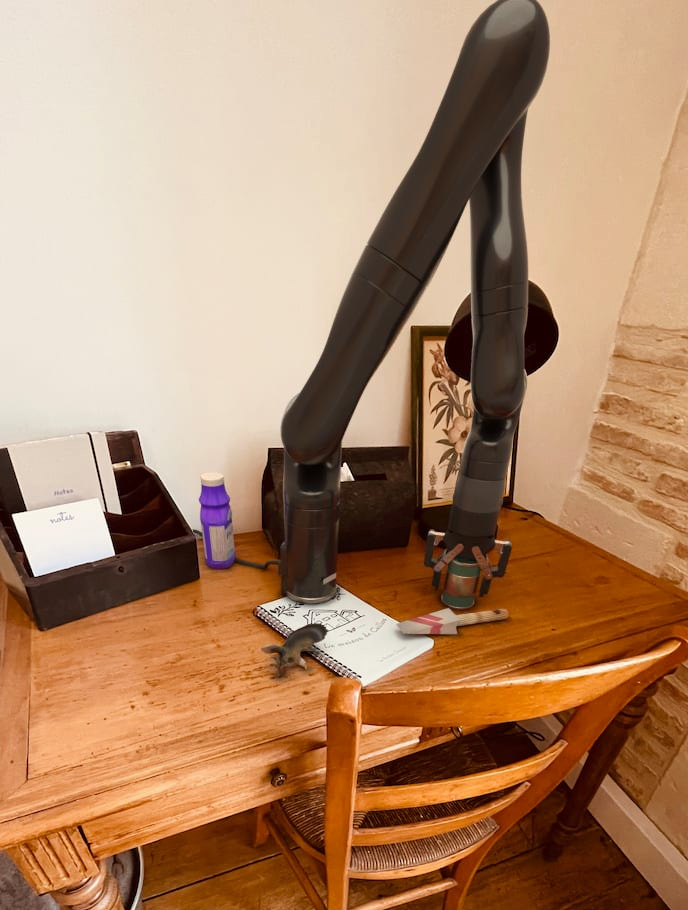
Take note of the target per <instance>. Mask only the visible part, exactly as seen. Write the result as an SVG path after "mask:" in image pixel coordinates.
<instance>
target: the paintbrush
mask: <svg viewBox="0 0 688 910" xmlns="http://www.w3.org/2000/svg"><path fill="white" fill-rule="evenodd" d="M508 617H509V612H508V610H507V609H506V608H499V609H494V610H492V609H491V610H485V611H476V612H470V613H462V614H455V612H453V611H452V609H451V608H449V607H446V608H444V609H440V610H437V611H434V612H431V613H428V614H425V615H420V616H418V617H415V618H410V619H408V620H405V621H401V622H398V623H395V625H396V626H397V628H398V629H399V630H400V631H401V633H402V634H407V635H410V634H411V635H412V634H413V635H458V631H457V630H458V629H457V627H461V626H469V625H474V624H481V623H488V622H494V621H502V620H506V619H508Z"/></svg>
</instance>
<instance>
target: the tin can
mask: <svg viewBox="0 0 688 910" xmlns="http://www.w3.org/2000/svg"><path fill="white" fill-rule="evenodd" d="M446 566H447V567H446V571H445V576H444V581H443V588H442V594H441V597H440V602H441V604H442V605H444V606H445V607H446V608H449V609H450V610H454V611H466V610H470V609H472V608H473V607H474V605H475V598H476V593H477V590H478V586H479V581H480V577H481V573H482V570H481V569H480V566H479V563H478V562H477V561H472V560H465V559H458V558H453V559H452V560H451V561H450V562H449V563H448V564H447V565H446Z"/></svg>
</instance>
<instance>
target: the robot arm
mask: <svg viewBox="0 0 688 910" xmlns="http://www.w3.org/2000/svg"><path fill="white" fill-rule="evenodd" d="M550 50H551V33H550V25H549V21H548V16H547V15H546V12H545V9H544V8H543V6H542V5H541V4H540V2H539V1H538V0H495V1H494V2H493V3H491V4H490V5H489V6H488V7H486V9H484V11H482V12H481V13H480V14H479V15H478V17H477V18H476V20H475V21H474V22H473V23H472V25H471V27H470V28H469V30H468V31H467V33H466V35H465V38H464V40H463V43H462V46H461V48H460V51H459V54H458V57H457V59H456V62H455V66H454V68H453V70H452V73H451V76H450V79H449V81H448V84H447V86H446V89H445V91H444V94H443V96H442V98H441V101H440V104H439V106H438V108H437V110H436V113H435V115H434V118H433V120H432V122H431V125H430V127H429V129H428V132H427V133H426V136H425V139H424V140H423V142H422V144H421V146H420V148H419V150H418V152H417V154H416V156H415V158H414V159H413V161H412V163H411V165H410V166H409V168H408V169H407V171H406V173H405V174H404V176H403V177H402V179H401V181H400V183H399V184H398V185H397V187H396V189H395V191H394V193H393V194H392V196H391V198H390V200H389V201H388V203H387V205H386V207H385V208H384V210H383V212H382V214H381V215H380V217H379V220H378V222H377V224H376V226H375V227H374V229H373V231H372V232H371V235H370V236H369V238H368V239H367V242H366V244H365V246H364V247H363V250H362V252H361V254H360V256H359V258H358V260H357V262H356V264H355V266H354V268H353V271H352V273H351V275H350V277H349V279H348V282H347V284H346V286H345V288H344V291H343V294H342V296H341V299H340V301H339V303H338V307H337V309H336V312H335V315H334V318H333V320H332V324H331V327H330V330H329V332H328V336H327V339H326V341H325V345H324V348H323V349H322V352H321V354H320V357H319V358H318V361H317V363H316V364H315V367H314V368H313V370H312V372H311V373H310V375H309V376H308V379H307V380H306V382H305V384H303V386H302V388H301V390H300V392H298V393H296V394H295V395H294V396H292V398H290V400H289V401H288V402H287V404H286V407H285V409H284V412H283V413H282V417H281V421H280V426H279V431H280V432H279V433H280V439H281V444H282V447H283V479H282V501H283V503H282V504H283V542H282V544H281V545H280V548H279V553H280V555H279V556H280V559H279V560H268V561H266V562H265V563H264V564H259V563H253V562H249V561H246V560H243V559H240V558H239V557H235V560H234V562H235V563H238V564H240V565H243V566H249V567H252V568H256V569H262V570H263V569H264V570H265V569H268V568H269V566H272V565H273V566H275V565H276V566H277V576H280V586H281V589H280V590H281V595H282V596H286V597H288V599H290V600H292V601H294V602H297V603H301V604H307V605H308V604H309V605H310V604H311V605H315V604H322V603H325V602H328V601H330V600H331V599H333V598H335V596H336V594H337V589H338V588H337V573H338V572H337V571H338V551H339V528H340V527H339V526H340V525H339V524H340V503H341V501H340V500H341V485H342V483H341V482H342V481H341V478H342V451H343V450H342V448H343V439H344V437H345V435H346V432H347V429H348V427H349V425H350V423H351V420H352V418H353V416H354V413H355V411H356V410H357V407H358V405H359V402H360V400H361V398H362V396H363V395H364V393H365V390H366V389H367V387H368V385H369V383H370V381H371V380H372V379H373V377H374V375H375V374H376V372H377V371H378V369H379V368H380V366H381V365H382V363H383V362H384V360H385V359H386V358H387V356H388V354H389V353H390V351H391V350H392V348H393V347H394V345H395V344H396V342H397V341H398V338H399V337H400V335H401V334H402V332H403V331H404V329H405V327H406V326H407V324H408V322H409V321H410V319H411V318H412V316H413V314H414V312H415V311H416V309H417V308H418V305H419V304H420V302H421V300H422V298H423V297H424V295H425V293H426V292H427V289H428V287H430V284H431V282H432V280H433V278H434V276H435V274H436V272H437V271H438V268H439V267H440V264H441V262H442V261H443V259H444V256H445V254H446V252H447V249H448V247H449V245H450V243H451V241H452V240H453V239H452V238H453V237H454V234H455V232H456V230H457V227H458V225H459V223H460V220H461V218H462V216H463V214H464V211H465V209H466V208H467V205H468V204H469V229H470V230H469V231H470V233H469V235H470V237H469V239H470V241H469V242H470V243H469V245H470V249H469V250H470V252H469V253H470V258H469V259H470V306H471V307H470V308H471V309H470V310H471V312H470V313H471V329H472V349H471V365H470V367H471V368H470V397H471V401H472V405H473V409H472V410H473V411H472V418H471V423H470V428H469V432H468V434H467V437H466V439H465V442H464V446H463V449H462V456H461V462H460V467H459V472H458V476H457V479H456V482H455V485H454V491H453V493H452V503H451V507H450V512H449V513H450V514H449V520H448V525H447V529H446V531H445V532H440V531H439V532H438V531H436V530H435V529H432V528H431V529H429V530H428V533H427V536H426V542H425V551H424V559H423V566H424V568H430V569H431V570H432V571H433V572H432V578H431V586H432V587H434V591H439V589H440V585H441V580H442V573H443V569H444V568H445V567H446V566H447V565H448V563H449V562H450V561H451V560H452V559H453V558H458V559H465V560H472V561H477V562H478V563H479V566H480V569H481V573H482V578H481V583H480V587H479V593H478V597H479V598H484V595H485V596H488V594H489V592H490V587H491V584H492V580H493V579H494V578H499V579H502V578H504V577H505V573H506V570H507V567H508V564H509V560H510V557H511V554H512V550H513V548H512V547H513V545H512V544H513V543H512V540H511V539H510V538H509V539H504V541H503V540H498V539H496V537H495V533H496V531H497V525H498V521H499V517H500V512H501V507H502V506H503V503H504V495H505V491H506V490H505V488H506V479H507V474H508V470H509V465H510V461H511V456H512V451H513V442H514V435H515V432H516V430H517V429H516V428H517V425H518V422H519V418H520V414H521V411H522V408H523V404H524V401H525V397H526V393H527V389H528V374H527V372H526V369H525V332H526V328H527V322H528V312H529V311H528V310H529V306H528V305H529V252H528V242H527V241H528V240H527V233H526V232H527V231H526V224H525V217H524V208H523V207H524V206H523V196H522V195H523V194H522V193H523V192H522V190H523V189H522V162H523V150H524V141H525V132H526V125H527V118H528V111H529V108H530V107H531V105H532V103H533V102H534V100H535V99H536V97H537V96H538V93H539V91H540V90H541V87H542V85H543V82H544V80H545V76H546V73H547V69H548V64H549V59H550ZM192 530H193V532H194V533H193V534H196V535H199V536H200V537H201V538H203V535H202V531H200V530H198V529H192ZM441 541H442V542H443V543H444V545H445V547H446V548H445V550H444V551H443V552H442V554H441V555H440V556H439V557H438V558H434V548H435V547H436V546H438V545H439V543H440V542H441ZM494 548H495V549H496V550H497V554H498V555H499V558H498V559H499V560H498V563H497V566H494V567H492V564H491V562H490V559H489V557H488V554H489V553H490V552H491V551H493V550H494Z"/></svg>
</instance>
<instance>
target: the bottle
mask: <svg viewBox="0 0 688 910" xmlns="http://www.w3.org/2000/svg"><path fill="white" fill-rule="evenodd" d="M200 487H201V488H200V489H201V491H200V495H199V498H198V502H199V504H200V509H199V510H200V511H199V520H200V526H201V527H200V528H201V532H202V535H203V537H202V542H203V543H202V544H203V553H204V560H205V563H206V565H207V567H208V568H211V569H214V570H225V569H229V568H230V567H231V566H232V565H233V564H234V562H235V561H234V560H235V558H236V548H235V538H234V527H233V511H232V507H231V505H230V502H231V497H230V495H229V494H228V492H227V489H226V485H225V477H224V474H223V473H221V472H216V471H210V472H205V473H203V474H201V475H200Z"/></svg>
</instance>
